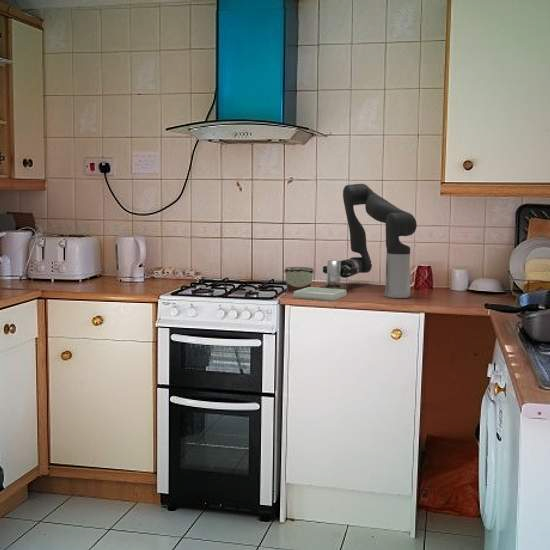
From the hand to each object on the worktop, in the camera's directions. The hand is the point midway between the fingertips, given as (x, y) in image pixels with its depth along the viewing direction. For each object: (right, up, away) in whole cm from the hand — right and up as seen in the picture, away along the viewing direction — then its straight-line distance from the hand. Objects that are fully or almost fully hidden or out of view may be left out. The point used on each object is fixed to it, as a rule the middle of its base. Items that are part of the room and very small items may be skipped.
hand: (334, 271), depth 312 cm
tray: (-7, -10, -14) cm, 18 cm away
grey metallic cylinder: (-1, -9, 0) cm, 9 cm away
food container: (-15, -9, +1) cm, 17 cm away
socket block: (-1, -9, 0) cm, 9 cm away
